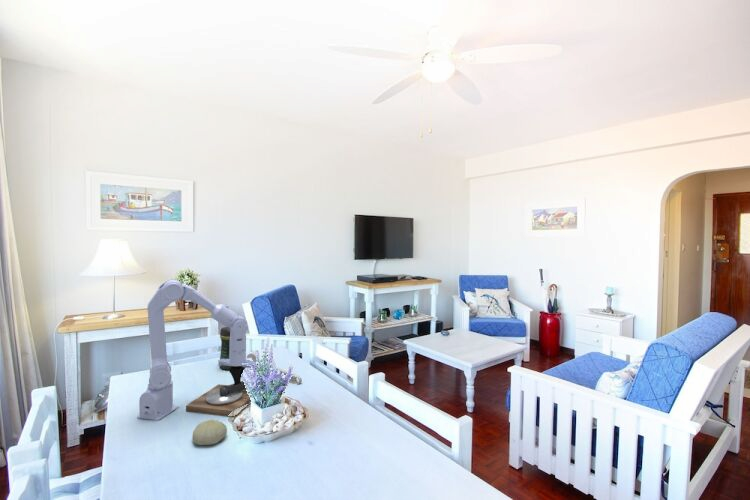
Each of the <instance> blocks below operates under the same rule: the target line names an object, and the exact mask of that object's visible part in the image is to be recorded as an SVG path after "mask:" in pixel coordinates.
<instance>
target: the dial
mask: <svg viewBox="0 0 750 500" xmlns="http://www.w3.org/2000/svg"><path fill="white" fill-rule="evenodd" d="M243 381H244V380H242V381H241V382H238V383H235V384H234V383H231V384H229V385H228V384H227V385H228V386H222V387H220V389H217V390H214V391H212V392H210V393H208V394H207V395H206V402H207V403H208V404H211V405H225V404H230V403H233V402H236V401H238V400H239V399H240V398H241V397H242V390H243V389H246V388H245V385H244V382H243Z"/></svg>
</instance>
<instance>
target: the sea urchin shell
mask: <svg viewBox="0 0 750 500" xmlns="http://www.w3.org/2000/svg"><path fill="white" fill-rule="evenodd" d="M227 433H228V428H227V426H226V424H225V423H224V422H223V421H219V420H217V419H207V420H204V421H202V422H200V423H199V424H197V425H196V426H195V428H194V430H193V431H192V441H193V442H194V444H195V445H198V446H210V445H215V444H217V443H219V442H220V441H222V439H224V438H225V436H226V435H227Z"/></svg>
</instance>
